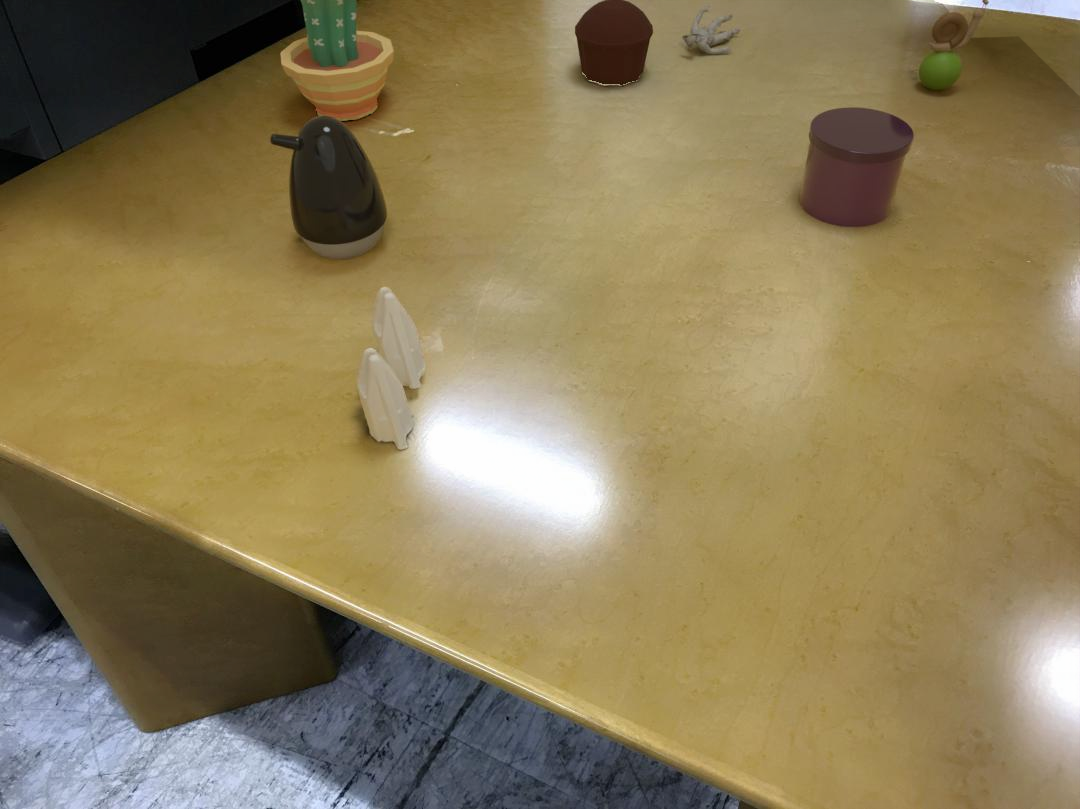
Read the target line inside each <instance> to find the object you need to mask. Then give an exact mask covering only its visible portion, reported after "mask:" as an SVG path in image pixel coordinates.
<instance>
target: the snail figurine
mask: <svg viewBox="0 0 1080 809" xmlns="http://www.w3.org/2000/svg"><path fill="white" fill-rule="evenodd" d="M981 2H982V3H983V5H982V7H977V8H976V9H974V10H973V13H972V18H971V20H970V21H969V24H968V20H967V18H966V17H965V16H964V14H962V13H960V12H954V11H953V12H952V11H951V12H947V13H945V14H943V15H942V16H939V18H938V19H937V20H936V21H935V22H934V24H933V26H932V29H931V37H932V39H933V40H934V41H930V42H929V43H928V45H929V47H930V49H931V50H932V51H930V52H929V53H927V54H926V55H925V56H924V57H923V59H922V60H921V62H920V65H919V68H918V77H919V80H920V82H921V83H922V85H923V86H924V87H926V88H927V89H929V90H931V91H943V90H946V89H948V88H951V87H952V86H953V85H955V83H956V82H957V81H958V80H959V78H960V76H961V73H962V69H963V63H962V59H961V57H960V56H959V55H958V54H957V52H955V51H957V50H958V49H960V48H962V47H964V46H966V44H967V43H968V42H969V41H970V40H971V39H972V37H973V35H974V34H975V33H976V30H977V29H978V27H979V24H980V22H981V20H982V19H983V18H984V16H985V13H986V12H985V10H986V7H987V5H989V0H982V1H981Z"/></svg>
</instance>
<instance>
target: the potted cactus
mask: <svg viewBox="0 0 1080 809" xmlns="http://www.w3.org/2000/svg"><path fill="white" fill-rule="evenodd" d="M299 1H300V2H301V5H302V6H301V7H302V12H303V17H304V18H303V19H304V23H305V24H304V26H305V30H306V37H303V38H300V39H297V40H294V41H293V42H292V43H290V44H289V45H288V46H286V47H285V48H284V49H283V50H281V51H280V54H279V55H280V62H281V64H280V65H281V66H282V69H283V71H284V73H285V75H286V76H288V77H290V78H291V79H293V81H294V83H295V85H296V86H297V88H298V89H299V91H300V93H301V94H302V96H304V97H305V99H307V100H308V101H309V102H310V103H311V104H312V105H313V106H314V107H316V109H315V112H316V111H317V112H318V113H320V114H322V115H323V116H329V117H333V118H340V119H343V118H349V117H357V116H359V115H361V114H363V113H366V112H368V111H370V110H372V109H373V108H374V107H375V106H376V105H377V104H378V105H379V102H378V98H379V96H380V93H381V92H382V90H383V88H384V86H385V85H386V80H387V74H388V69H389V66H391V64H392V63H393V62H394V54H395V53H394V52H395V49H394V46H393V44H392V41H391V39H390V38H387V37H386V36H384V35H380V34H378V33H376V32H374V31H365V30H364V31H363V30H357V2H358V0H299ZM377 102H378V103H377Z"/></svg>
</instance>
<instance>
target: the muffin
mask: <svg viewBox="0 0 1080 809" xmlns="http://www.w3.org/2000/svg"><path fill="white" fill-rule="evenodd" d="M653 34H654V27H653V24H652V23H651V21H650V20H649V18H648V17H647V15H646V14H645V12H644V11H642V10H641V9H640V8H639V7H638V6H637V5H635V4H634V3H632V2H631V1H628V0H601V1H598V2H597V3H595V4H594V5H592V6H591V7H589V9H587V10H586V11H585V12H584V13H583V15H581V17H580V19H579V20H578V21H577V23H576V25H574V35H575V37H576V43H577V50H578V56H579V62H580V69H581V73H582V72H583V73H584V74H585V75H586V77H587V79H588V80H592V81H596V82H599V83H602V84H620V85H623V84H626V83H628V82H632V81H636V80H638V79H640V77H641V76H642V75H643V74H644V69H645V65H646V60H647V56H648V53H649V52H648V51H649V47H650V42H651V38H652V36H653ZM642 73H643V74H642ZM641 74H642V75H641ZM640 75H641V76H640ZM639 76H640V77H639ZM587 79H586V80H587ZM638 81H639V80H638Z"/></svg>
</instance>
